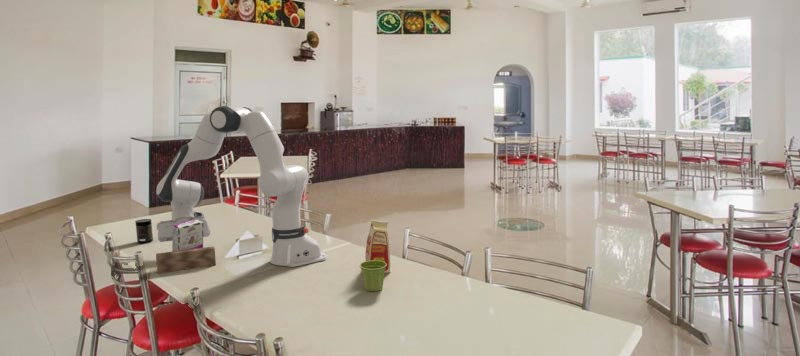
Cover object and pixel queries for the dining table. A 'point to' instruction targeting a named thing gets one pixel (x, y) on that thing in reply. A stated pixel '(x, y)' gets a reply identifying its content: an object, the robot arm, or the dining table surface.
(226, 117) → the robot arm
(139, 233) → the supplement container
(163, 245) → the dining table surface
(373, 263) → the plant pot
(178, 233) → the candy bar box
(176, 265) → the walnut board
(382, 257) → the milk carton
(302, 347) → the dining table surface
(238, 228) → the dining table surface
